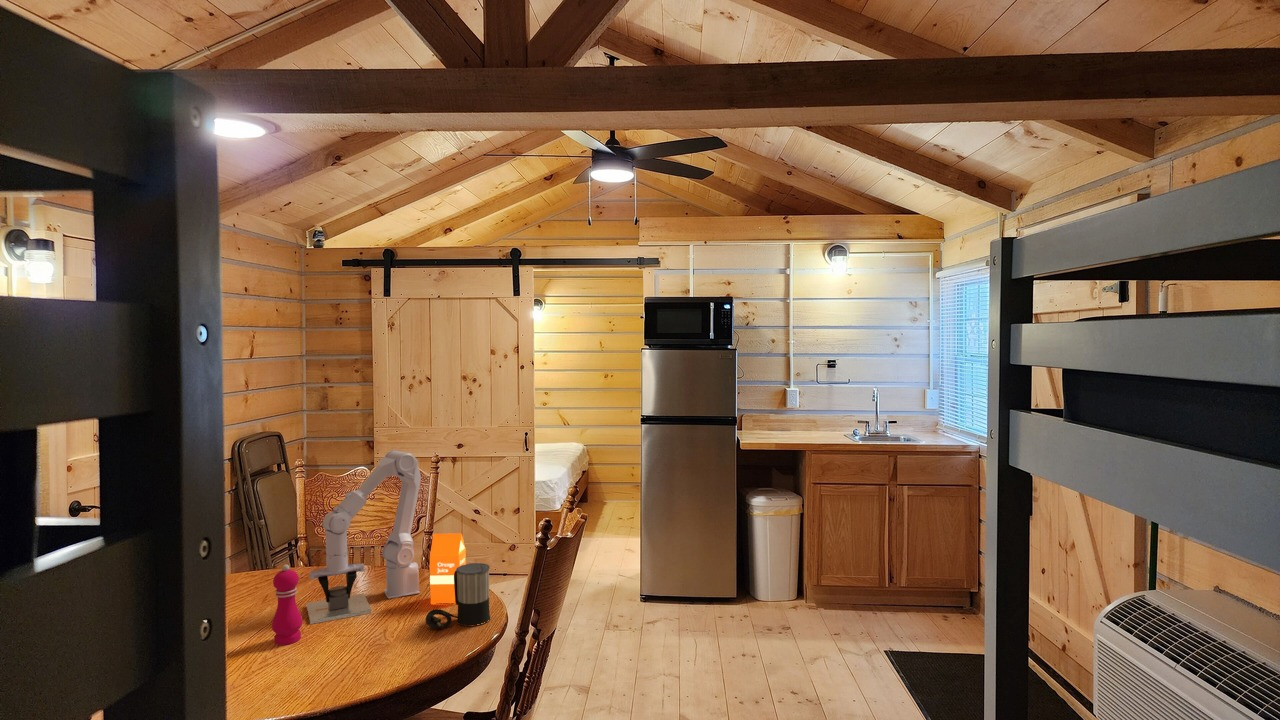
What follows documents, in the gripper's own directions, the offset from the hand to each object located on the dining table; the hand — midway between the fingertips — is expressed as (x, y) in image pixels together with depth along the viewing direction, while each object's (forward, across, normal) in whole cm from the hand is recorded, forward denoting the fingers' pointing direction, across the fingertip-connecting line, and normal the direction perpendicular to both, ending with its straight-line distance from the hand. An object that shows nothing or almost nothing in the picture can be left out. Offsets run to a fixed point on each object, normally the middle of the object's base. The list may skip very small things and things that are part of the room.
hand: (338, 599), depth 207 cm
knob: (+2, 0, 0) cm, 2 cm away
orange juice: (+3, -30, +9) cm, 31 cm away
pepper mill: (+3, +14, +17) cm, 22 cm away
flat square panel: (+3, 0, 0) cm, 3 cm away
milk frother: (+3, -28, +29) cm, 40 cm away
